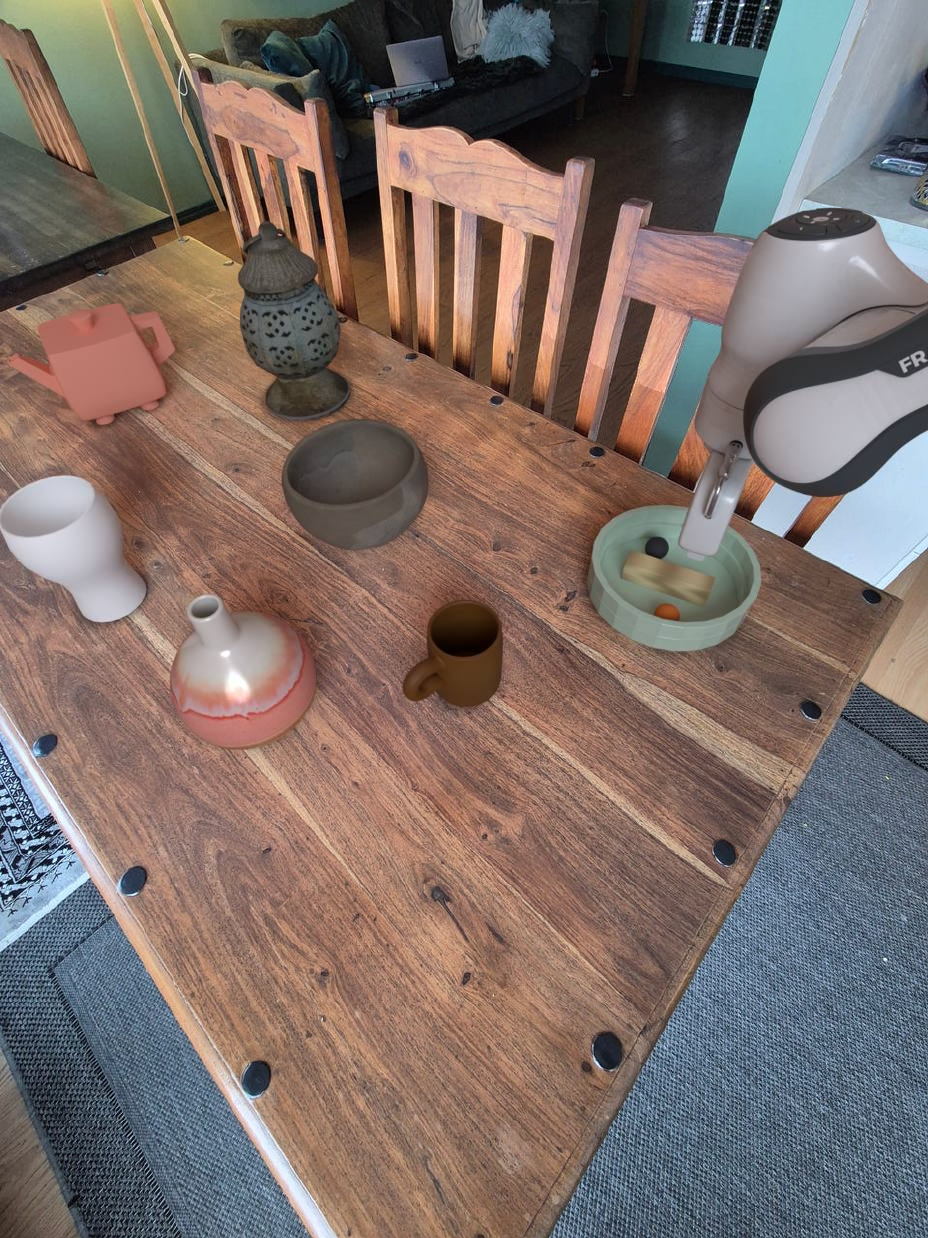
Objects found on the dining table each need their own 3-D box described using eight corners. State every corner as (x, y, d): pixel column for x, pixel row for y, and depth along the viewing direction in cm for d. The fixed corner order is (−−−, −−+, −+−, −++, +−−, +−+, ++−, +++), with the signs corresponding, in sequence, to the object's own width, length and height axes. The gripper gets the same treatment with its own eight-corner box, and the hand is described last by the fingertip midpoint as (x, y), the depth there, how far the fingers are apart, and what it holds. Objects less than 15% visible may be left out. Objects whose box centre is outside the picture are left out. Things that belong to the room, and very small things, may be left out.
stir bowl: (761, 563, 78) (776, 534, 74) (723, 679, 69) (738, 653, 65) (617, 516, 84) (623, 487, 80) (562, 617, 74) (567, 589, 70)
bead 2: (658, 598, 70) (673, 617, 69) (674, 597, 72) (689, 616, 71) (644, 615, 72) (658, 634, 71) (660, 614, 74) (674, 632, 72)
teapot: (54, 446, 96) (-3, 358, 84) (41, 403, 102) (-14, 317, 91) (198, 399, 102) (163, 312, 91) (177, 362, 109) (142, 277, 97)
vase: (312, 640, 73) (271, 531, 59) (340, 743, 65) (301, 644, 51) (189, 677, 70) (116, 571, 56) (204, 788, 62) (123, 698, 48)
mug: (437, 752, 64) (430, 706, 57) (386, 706, 68) (374, 657, 60) (515, 678, 69) (519, 626, 62) (465, 638, 73) (463, 585, 65)
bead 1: (667, 560, 76) (677, 545, 77) (652, 543, 76) (663, 528, 77) (650, 566, 79) (660, 552, 80) (636, 550, 78) (646, 535, 79)
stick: (708, 592, 75) (715, 577, 73) (703, 607, 74) (710, 591, 72) (627, 565, 78) (631, 549, 76) (620, 578, 77) (624, 562, 74)
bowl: (272, 517, 85) (251, 456, 77) (379, 458, 92) (369, 398, 84) (346, 591, 77) (330, 532, 69) (457, 521, 84) (454, 460, 76)
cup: (72, 574, 80) (0, 481, 68) (160, 557, 81) (104, 463, 69) (62, 641, 74) (-19, 551, 62) (157, 621, 75) (96, 530, 63)
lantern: (255, 421, 98) (197, 248, 78) (271, 370, 107) (223, 201, 87) (346, 419, 98) (311, 245, 78) (355, 367, 106) (325, 198, 87)
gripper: (760, 494, 51) (712, 603, 62) (805, 365, 62) (758, 478, 73) (681, 472, 53) (648, 582, 64) (739, 351, 64) (702, 463, 74)
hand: (707, 526), depth 68 cm, fingers open, 8 cm apart
